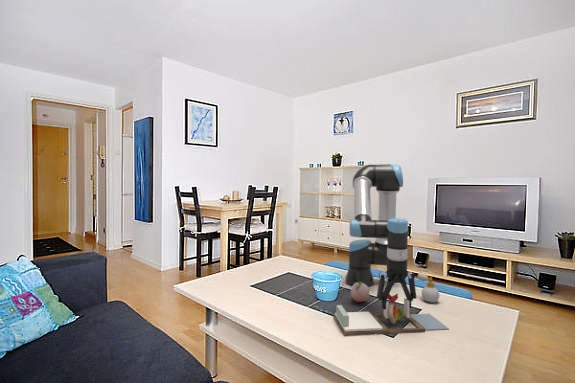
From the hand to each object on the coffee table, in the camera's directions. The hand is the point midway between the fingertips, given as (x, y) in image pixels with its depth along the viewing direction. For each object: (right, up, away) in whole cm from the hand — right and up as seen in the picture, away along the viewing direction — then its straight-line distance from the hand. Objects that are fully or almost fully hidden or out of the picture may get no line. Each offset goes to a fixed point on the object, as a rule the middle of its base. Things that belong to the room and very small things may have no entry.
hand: (396, 316), depth 119 cm
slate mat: (+13, -3, +1) cm, 13 cm away
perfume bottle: (+23, -2, +23) cm, 32 cm away
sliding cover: (-15, -1, -2) cm, 16 cm away
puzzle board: (-8, -3, -1) cm, 8 cm away
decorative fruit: (-9, -2, +21) cm, 23 cm away
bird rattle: (-1, -2, 0) cm, 2 cm away
